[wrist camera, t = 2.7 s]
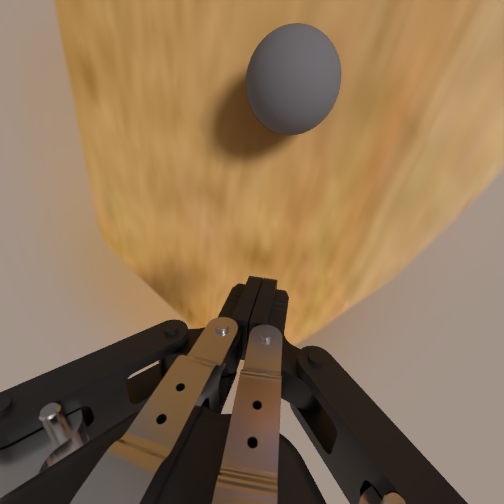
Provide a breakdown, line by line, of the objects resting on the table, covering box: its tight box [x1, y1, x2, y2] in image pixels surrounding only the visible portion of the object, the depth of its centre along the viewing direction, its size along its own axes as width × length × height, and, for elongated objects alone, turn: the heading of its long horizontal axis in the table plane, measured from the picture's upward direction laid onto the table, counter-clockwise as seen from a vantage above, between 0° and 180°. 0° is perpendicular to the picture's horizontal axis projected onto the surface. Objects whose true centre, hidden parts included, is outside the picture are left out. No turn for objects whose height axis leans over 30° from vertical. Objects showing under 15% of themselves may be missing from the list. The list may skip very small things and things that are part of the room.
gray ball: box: [246, 23, 341, 135], centre depth 16 cm, size 6×6×6 cm
